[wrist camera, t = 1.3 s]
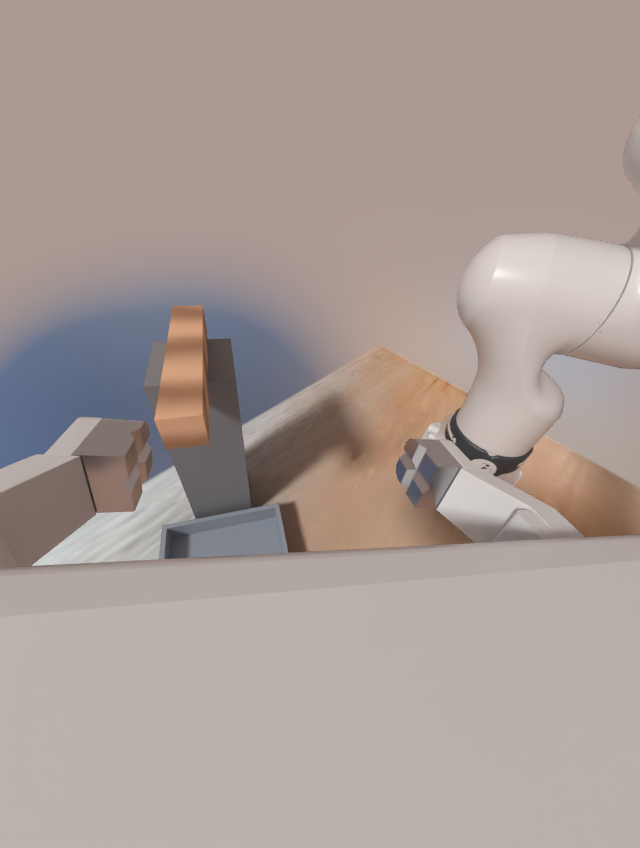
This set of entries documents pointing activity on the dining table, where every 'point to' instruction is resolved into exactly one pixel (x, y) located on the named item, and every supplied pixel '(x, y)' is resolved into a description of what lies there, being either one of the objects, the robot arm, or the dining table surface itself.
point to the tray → (226, 535)
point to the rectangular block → (184, 381)
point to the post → (224, 457)
